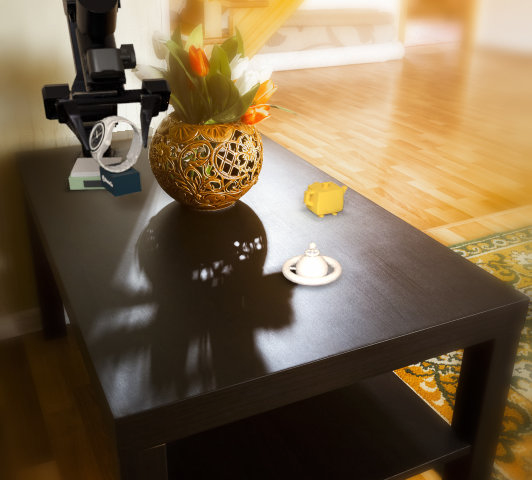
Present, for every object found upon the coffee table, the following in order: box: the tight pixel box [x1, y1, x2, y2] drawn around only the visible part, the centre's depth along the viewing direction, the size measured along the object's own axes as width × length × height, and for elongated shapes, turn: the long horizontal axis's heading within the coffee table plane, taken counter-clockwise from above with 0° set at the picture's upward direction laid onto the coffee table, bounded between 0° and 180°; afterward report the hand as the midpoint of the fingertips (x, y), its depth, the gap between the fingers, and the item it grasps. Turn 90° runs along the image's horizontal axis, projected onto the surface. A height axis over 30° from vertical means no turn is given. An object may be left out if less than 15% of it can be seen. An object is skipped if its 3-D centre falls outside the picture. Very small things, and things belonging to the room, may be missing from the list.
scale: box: [68, 156, 126, 191], centre depth 116 cm, size 9×9×3 cm
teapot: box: [302, 181, 348, 218], centre depth 104 cm, size 8×6×5 cm
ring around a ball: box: [281, 242, 343, 287], centre depth 83 cm, size 8×6×8 cm
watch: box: [88, 115, 143, 198], centre depth 96 cm, size 6×8×11 cm
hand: (117, 149), depth 94 cm, fingers closed on watch, 8 cm apart
